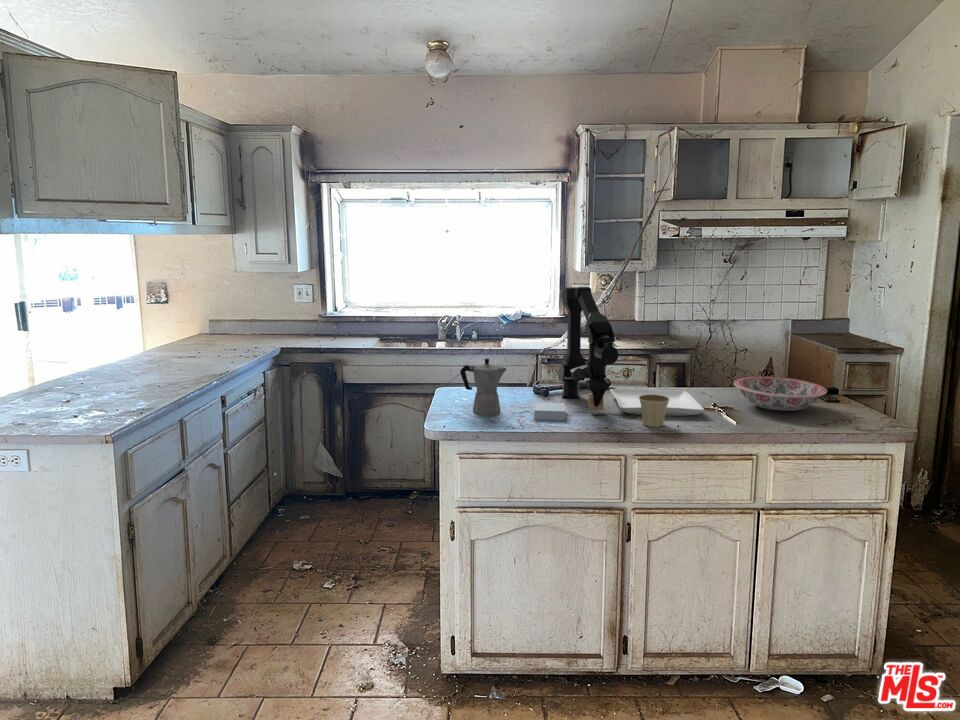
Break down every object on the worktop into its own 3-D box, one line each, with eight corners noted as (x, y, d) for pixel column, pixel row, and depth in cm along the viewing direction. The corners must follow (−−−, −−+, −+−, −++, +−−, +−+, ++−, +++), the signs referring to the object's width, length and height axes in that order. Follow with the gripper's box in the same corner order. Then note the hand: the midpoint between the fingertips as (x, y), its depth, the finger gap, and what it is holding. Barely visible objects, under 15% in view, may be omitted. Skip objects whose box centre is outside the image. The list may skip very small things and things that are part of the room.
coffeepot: (506, 408, 234) (507, 356, 230) (506, 415, 224) (507, 361, 221) (461, 407, 234) (461, 355, 231) (459, 414, 225) (459, 360, 222)
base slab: (534, 411, 230) (534, 402, 229) (564, 412, 229) (564, 403, 228) (534, 419, 220) (534, 410, 219) (565, 420, 219) (565, 411, 219)
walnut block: (588, 406, 229) (588, 394, 228) (601, 406, 229) (602, 394, 228) (589, 409, 225) (589, 397, 224) (602, 410, 224) (603, 398, 224)
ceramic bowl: (741, 394, 255) (742, 373, 254) (828, 405, 241) (830, 382, 239) (724, 411, 231) (726, 388, 229) (820, 425, 216) (823, 400, 214)
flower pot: (646, 430, 209) (648, 402, 208) (631, 421, 218) (633, 395, 217) (674, 427, 212) (675, 400, 210) (658, 419, 221) (659, 393, 219)
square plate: (704, 420, 222) (705, 408, 221) (619, 418, 224) (619, 406, 223) (685, 399, 249) (686, 389, 248) (609, 397, 250) (609, 387, 250)
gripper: (571, 352, 233) (569, 397, 236) (573, 363, 215) (572, 411, 218) (604, 353, 232) (602, 398, 235) (609, 364, 214) (607, 412, 217)
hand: (595, 404), depth 227 cm, fingers closed on walnut block, 4 cm apart
